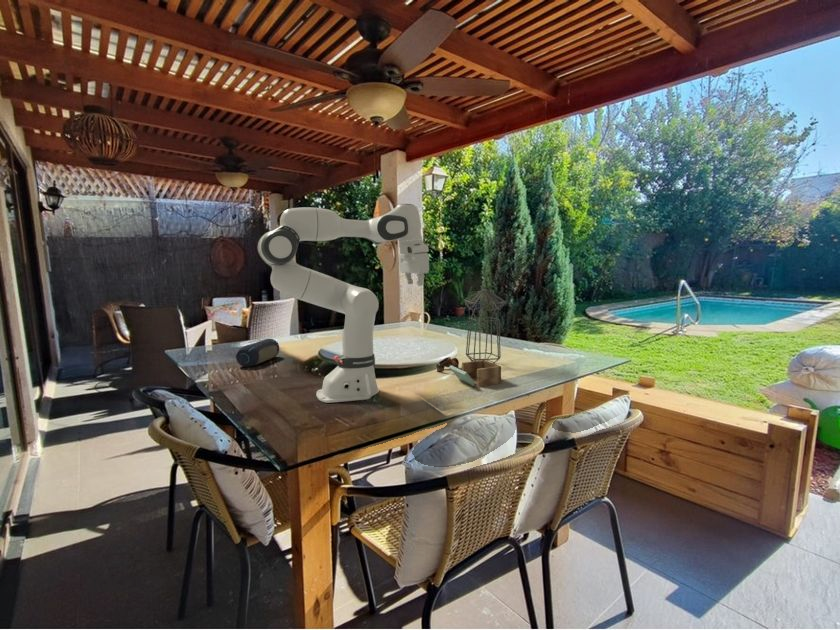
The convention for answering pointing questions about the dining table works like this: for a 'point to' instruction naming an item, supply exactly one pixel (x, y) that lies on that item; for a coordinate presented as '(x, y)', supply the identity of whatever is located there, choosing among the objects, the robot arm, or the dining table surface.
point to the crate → (483, 372)
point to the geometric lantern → (489, 294)
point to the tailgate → (463, 376)
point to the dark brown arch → (447, 363)
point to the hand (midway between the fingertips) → (415, 284)
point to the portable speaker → (257, 352)
